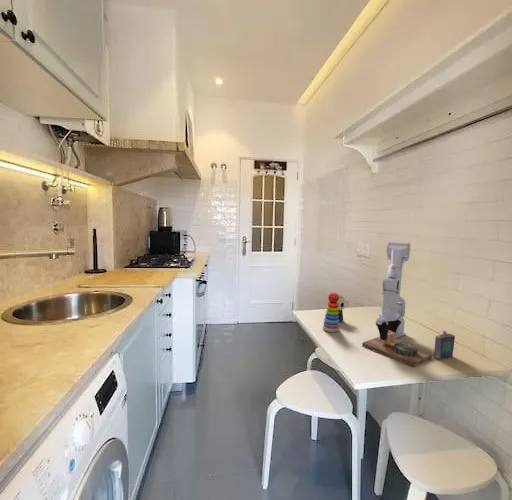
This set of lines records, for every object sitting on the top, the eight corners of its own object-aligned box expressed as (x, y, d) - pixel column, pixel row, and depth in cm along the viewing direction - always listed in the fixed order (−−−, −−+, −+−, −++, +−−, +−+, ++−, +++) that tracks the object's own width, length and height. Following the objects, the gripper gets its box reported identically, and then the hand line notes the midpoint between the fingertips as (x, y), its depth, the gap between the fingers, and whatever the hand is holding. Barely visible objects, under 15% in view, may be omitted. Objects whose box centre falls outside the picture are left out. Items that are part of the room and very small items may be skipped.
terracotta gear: (384, 337, 132) (385, 328, 131) (397, 341, 127) (397, 332, 127) (376, 340, 128) (377, 331, 128) (389, 344, 124) (390, 335, 123)
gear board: (381, 339, 138) (382, 327, 137) (431, 358, 120) (432, 344, 119) (362, 345, 130) (363, 333, 129) (413, 367, 112) (414, 353, 111)
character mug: (328, 322, 159) (329, 298, 157) (325, 317, 166) (326, 294, 164) (349, 322, 158) (350, 298, 157) (345, 318, 165) (347, 295, 164)
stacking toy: (322, 331, 145) (324, 293, 143) (322, 326, 152) (324, 289, 150) (339, 333, 143) (341, 295, 141) (339, 328, 151) (341, 291, 149)
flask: (437, 360, 118) (440, 333, 117) (430, 357, 121) (433, 331, 120) (454, 357, 121) (457, 331, 120) (447, 354, 124) (450, 328, 123)
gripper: (390, 301, 133) (388, 331, 135) (370, 306, 125) (368, 338, 127) (406, 305, 128) (403, 336, 129) (386, 311, 119) (384, 344, 121)
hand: (387, 337), depth 127 cm, fingers closed on terracotta gear, 6 cm apart
